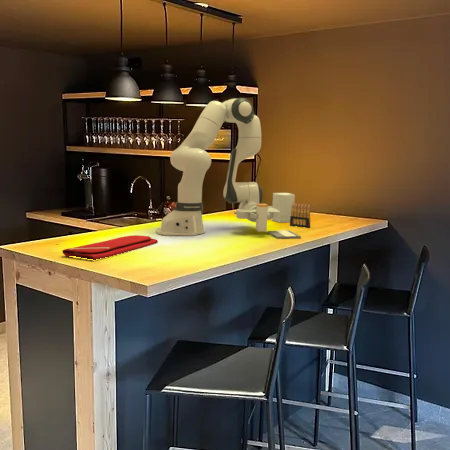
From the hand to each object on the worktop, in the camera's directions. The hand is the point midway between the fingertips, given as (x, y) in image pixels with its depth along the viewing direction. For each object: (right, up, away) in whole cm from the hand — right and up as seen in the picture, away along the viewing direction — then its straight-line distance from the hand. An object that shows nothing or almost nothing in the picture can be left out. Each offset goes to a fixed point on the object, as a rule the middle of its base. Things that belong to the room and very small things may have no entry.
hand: (262, 216), depth 256 cm
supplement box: (+14, -2, +48) cm, 50 cm away
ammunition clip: (+21, -5, +32) cm, 38 cm away
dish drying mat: (-61, -14, -32) cm, 70 cm away
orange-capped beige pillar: (0, -6, +2) cm, 7 cm away
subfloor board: (+10, -9, +5) cm, 14 cm away
